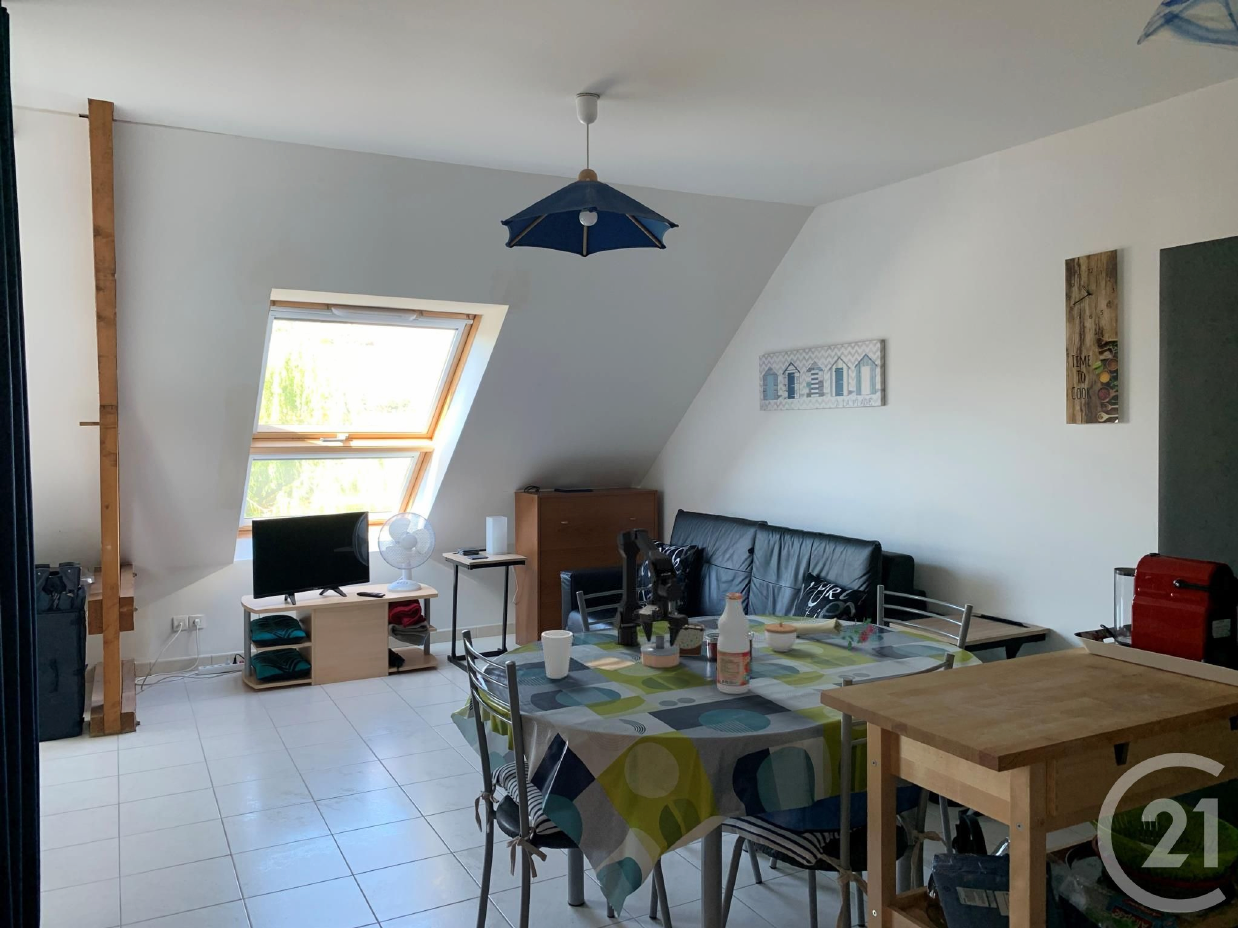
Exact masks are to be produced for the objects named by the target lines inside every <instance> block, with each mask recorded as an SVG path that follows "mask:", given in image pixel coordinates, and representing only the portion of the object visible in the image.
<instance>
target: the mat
mask: <svg viewBox="0 0 1238 928" xmlns="http://www.w3.org/2000/svg"><path fill="white" fill-rule="evenodd" d="M635 664H637V662H633V661H629V660H624V659H620V658H616V657H611V656H606V657H603V658H599V659H596V660H593V661H590V662H585V663H584V664H583V665H585V666H589V667H593V668H597V669H602V670H606V671H609V672H615V671H616V670H620V669H622V668H626V667H629V666H633V665H635Z"/></svg>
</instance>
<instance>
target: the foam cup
mask: <svg viewBox="0 0 1238 928" xmlns="http://www.w3.org/2000/svg"><path fill="white" fill-rule="evenodd" d="M573 637H574V636H573V632H571V631H567V630H563V629H561V630H560V629H559V630H553V629H552V630H547V631H546V630H545V631H543V632H542V633H541V638H540V639H541V641H540V642H541V643H542V651H543V658H544V659H543V660H544V665H545V673H546V677H547V678H549V679H554V680H555V679H557V680H558V679H563V678H564V677H566V676H568V674H569V667H570V660H571V651H572V642H573V641H574V640H573V639H574V638H573Z"/></svg>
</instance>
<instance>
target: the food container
mask: <svg viewBox="0 0 1238 928" xmlns="http://www.w3.org/2000/svg"><path fill="white" fill-rule="evenodd" d="M668 632H670V630H669V629H668ZM706 632H707V631H706V628H705V625H704V624H702V623H698V622H691V621H690V622H689V621H688V625H685V627H682V629H681V631H680V632H679V634H678V636H677V638H676V641H675V643H674V645H676V646H678V647H679V657H680V656H682V657H683V656H686V657H687V656H691V657H702V653H703V652H702V651H703V643H704V642H703V641H704V635H705V633H706Z"/></svg>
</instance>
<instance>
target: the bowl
mask: <svg viewBox="0 0 1238 928" xmlns="http://www.w3.org/2000/svg"><path fill="white" fill-rule="evenodd" d="M641 663H642V665H643V666H647V667H651V668H672V667H674V666H677V665H679V664H680V655H679V653H677V654H675V655H669V656H652V655H647V654H644V653H642V652H641Z"/></svg>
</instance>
